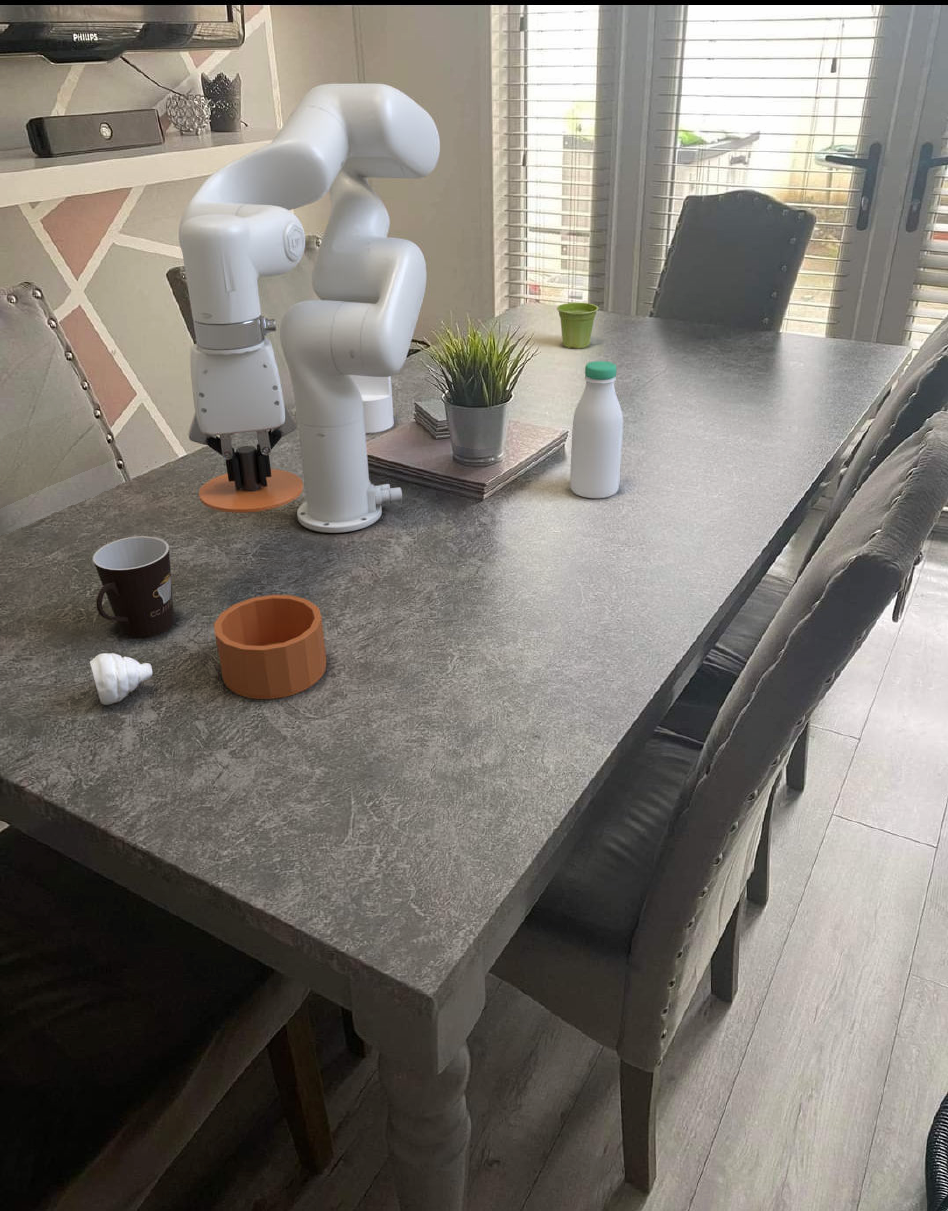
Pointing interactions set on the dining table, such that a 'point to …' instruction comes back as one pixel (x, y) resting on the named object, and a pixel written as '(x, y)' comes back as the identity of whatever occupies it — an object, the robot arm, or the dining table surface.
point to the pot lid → (250, 487)
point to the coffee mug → (136, 585)
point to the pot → (271, 646)
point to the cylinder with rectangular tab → (376, 402)
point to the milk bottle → (597, 435)
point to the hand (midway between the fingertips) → (250, 482)
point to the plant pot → (577, 323)
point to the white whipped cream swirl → (117, 676)
